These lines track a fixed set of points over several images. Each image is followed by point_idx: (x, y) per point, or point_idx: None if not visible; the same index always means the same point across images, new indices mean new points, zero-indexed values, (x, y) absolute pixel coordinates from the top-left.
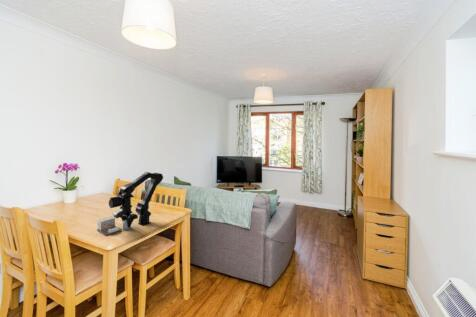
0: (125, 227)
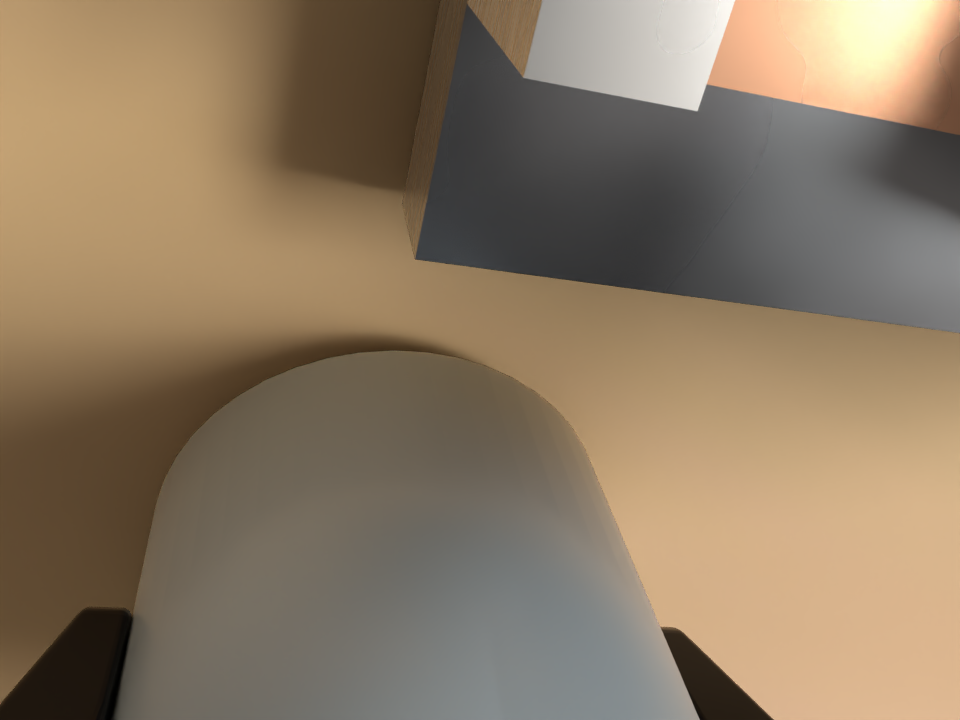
0: (236, 517)
